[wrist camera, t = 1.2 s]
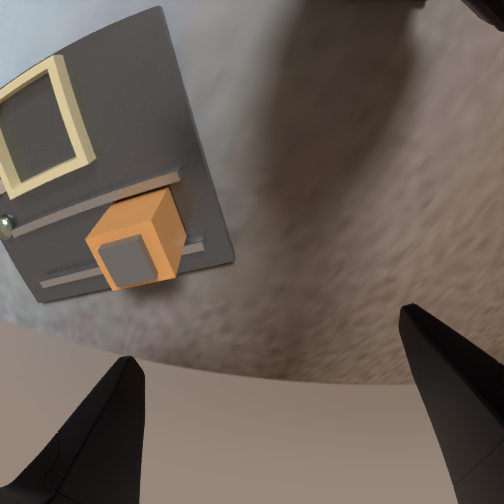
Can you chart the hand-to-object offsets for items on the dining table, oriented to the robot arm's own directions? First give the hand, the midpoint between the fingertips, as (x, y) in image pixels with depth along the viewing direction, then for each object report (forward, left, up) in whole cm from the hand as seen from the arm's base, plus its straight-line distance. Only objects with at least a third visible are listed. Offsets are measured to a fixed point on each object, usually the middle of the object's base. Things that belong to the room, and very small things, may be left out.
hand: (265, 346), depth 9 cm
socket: (+12, -8, -13) cm, 20 cm away
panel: (+11, -4, -13) cm, 18 cm away
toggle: (+7, 0, -12) cm, 14 cm away
